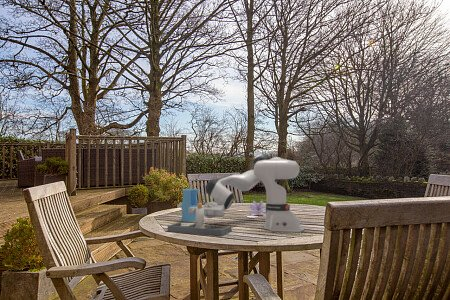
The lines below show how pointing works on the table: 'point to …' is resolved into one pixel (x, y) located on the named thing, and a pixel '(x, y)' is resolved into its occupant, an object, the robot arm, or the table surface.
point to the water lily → (257, 208)
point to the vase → (189, 204)
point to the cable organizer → (199, 229)
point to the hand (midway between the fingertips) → (199, 212)
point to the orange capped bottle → (199, 216)
